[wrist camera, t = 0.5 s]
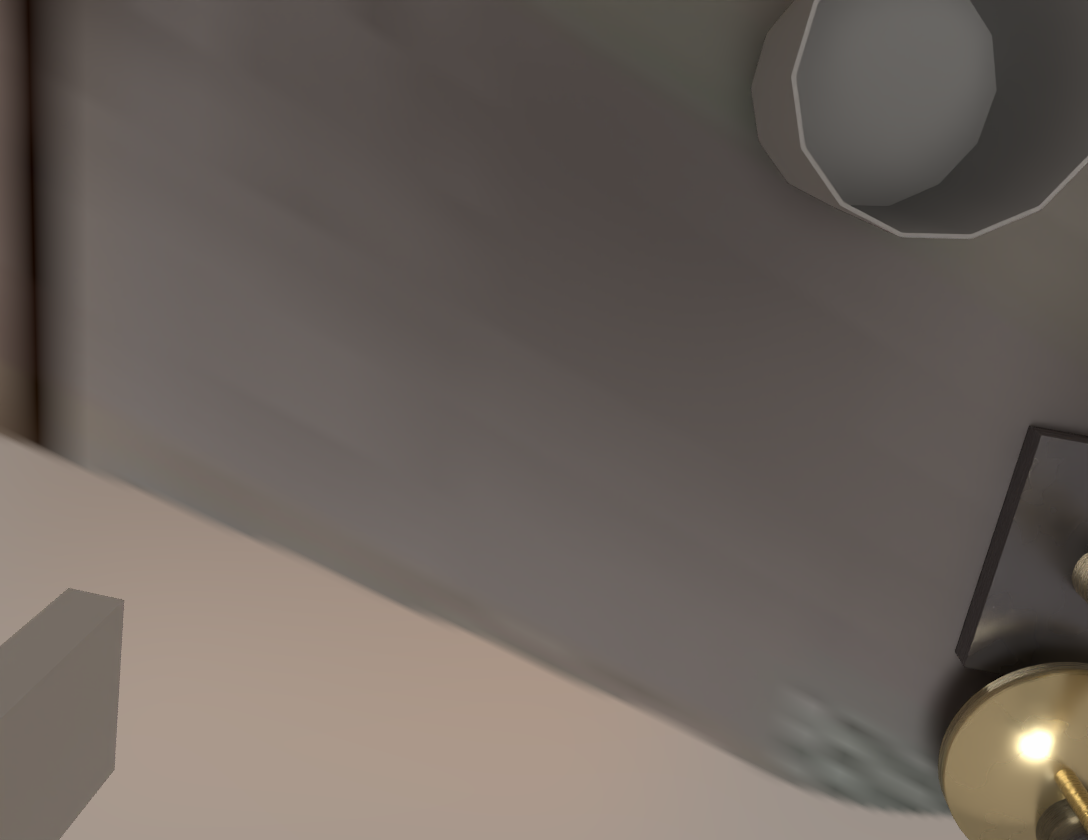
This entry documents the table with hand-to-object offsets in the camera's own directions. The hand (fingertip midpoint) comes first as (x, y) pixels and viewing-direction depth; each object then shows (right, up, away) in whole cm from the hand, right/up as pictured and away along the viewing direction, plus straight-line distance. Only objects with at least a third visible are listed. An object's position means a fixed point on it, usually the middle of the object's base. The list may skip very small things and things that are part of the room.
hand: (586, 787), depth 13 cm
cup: (+11, +17, +22) cm, 30 cm away
